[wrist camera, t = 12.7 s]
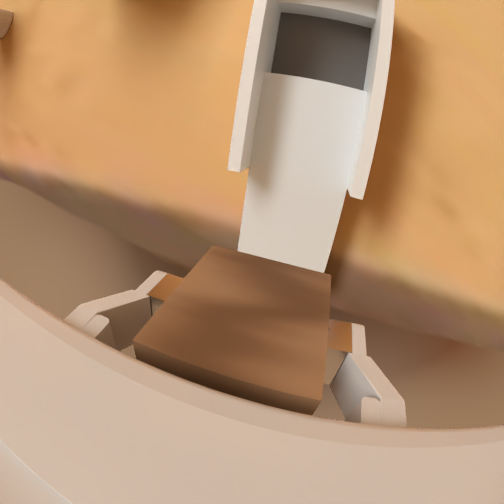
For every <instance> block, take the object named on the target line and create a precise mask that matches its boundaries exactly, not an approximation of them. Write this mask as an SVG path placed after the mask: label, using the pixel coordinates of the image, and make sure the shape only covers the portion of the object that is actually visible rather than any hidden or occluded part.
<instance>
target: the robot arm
mask: <svg viewBox="0 0 504 504" xmlns="http://www.w3.org/2000/svg"><path fill="white" fill-rule="evenodd" d="M183 279H184V278H180V277H177V276H174V275H171V274H168V273H165V272H162V271H155V272H154V273H153V274H152V275H151V276H150V277H149V278H148V279H147V280H146V281H145V282H143V283H142V284H141V285H140V286H139V287H138V288H137V289H136V290H135V291H134V290H129V291H126V292H122V293H119V294H115V295H112V296H108V297H104V298H101V299H97V300H94V301H91V302H87V303H83V304H81V305H80V306H78V307H77V308H76V309H75V310H74V311H73V312H72V313H71V314H70V315H69V316H67V317H66V318H65V319H64V320H62V319H60V318H58V317H57V316H55V315H53V314H52V313H50V312H49V311H47V310H45V309H44V308H42V307H41V306H39V305H38V304H36V303H34V302H33V301H32V300H30V299H29V298H27V297H26V296H25V295H23V294H22V293H20V292H19V291H17V290H16V289H15V288H13V287H12V286H11V285H9V284H8V283H7V282H5V281H4V280H3V279H1V278H0V504H504V424H503V425H495V426H484V427H470V428H407V423H406V410H405V401H404V400H403V398H402V397H401V396H400V394H399V393H398V392H397V391H396V389H395V388H394V387H393V385H392V384H391V383H390V381H389V380H388V379H387V378H386V376H385V375H384V374H383V372H382V371H381V370H380V369H379V367H378V366H377V365H376V364H375V362H374V361H373V360H372V358H371V357H368V356H367V351H366V338H365V327H364V326H363V325H359V324H355V323H347V322H343V321H339V320H335V319H330V318H329V330H328V343H327V355H326V366H325V376H324V384H327V385H330V387H331V389H332V392H333V394H334V396H335V398H336V400H337V402H338V404H339V406H340V408H341V410H342V412H343V415H344V417H345V420H344V421H340V420H334V419H328V418H322V417H317V416H312V415H307V414H302V413H297V412H293V411H288V410H284V409H280V408H276V407H272V406H268V405H264V404H260V403H257V402H253V401H249V400H246V399H242V398H239V397H236V396H232V395H229V394H226V393H223V392H220V391H217V390H214V389H211V388H208V387H205V386H202V385H199V384H197V383H194V382H191V381H188V380H186V379H183V378H180V377H178V376H175V375H173V374H170V373H168V372H165V371H163V370H161V369H158V368H156V367H153V366H151V365H149V364H147V363H144V362H142V361H140V360H138V359H135V358H133V357H131V356H129V355H127V354H125V353H123V352H121V351H120V350H122V349H125V348H127V347H129V346H131V345H132V344H133V339H134V338H135V336H136V335H137V334H138V333H139V331H140V330H141V329H142V328H143V327H144V325H145V324H146V323H147V322H148V321H149V319H150V318H151V317H152V316H153V315H154V313H155V312H156V311H157V310H158V309H159V307H160V306H161V305H162V304H163V303H164V301H165V300H166V299H167V298H168V297H169V296H170V294H171V293H172V292H173V291H174V290H175V289H176V287H177V286H178V285H179V284H180V283H181V282H182V280H183Z"/></svg>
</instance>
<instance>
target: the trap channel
mask: <svg viewBox="0 0 504 504" xmlns="http://www.w3.org/2000/svg"><path fill="white" fill-rule="evenodd" d="M394 6H395V0H254V5H253V10H252V15H251V21H250V26H249V32H248V37H247V43H246V49H245V55H244V61H243V67H242V73H241V79H240V85H239V92H238V98H237V105H236V112H235V119H234V126H233V133H232V140H231V147H230V155H229V163H228V170H231V171H236V172H241V171H242V170H244V169H246V168H248V167H249V174H248V181H247V188H246V195H245V201H244V208H243V216H242V223H241V230H240V237H239V244H238V251H239V252H243V253H247V254H251V255H255V256H259V257H263V258H267V259H271V260H275V261H279V262H282V263H286V264H290V265H294V266H298V267H302V268H306V269H310V270H314V271H318V272H322V273H324V271H325V268H326V265H327V261H328V258H329V255H330V251H331V248H332V244H333V241H334V237H335V233H336V230H337V226H338V222H339V219H340V215H341V211H342V207H343V203H344V199H345V195H346V191H347V189H348V192H349V194H350V197H354V198H357V199H361V200H363V196H364V193H365V189H366V185H367V181H368V177H369V173H370V168H371V164H372V160H373V155H374V151H375V146H376V141H377V136H378V131H379V126H380V121H381V116H382V110H383V104H384V98H385V92H386V85H387V79H388V71H389V63H390V55H391V46H392V35H393V23H394Z"/></svg>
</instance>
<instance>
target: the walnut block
mask: <svg viewBox="0 0 504 504" xmlns="http://www.w3.org/2000/svg"><path fill="white" fill-rule="evenodd" d="M330 293H331V275H330V274H326V273H322V272H318V271H314V270H310V269H306V268H302V267H298V266H294V265H290V264H286V263H282V262H279V261H275V260H271V259H267V258H263V257H259V256H255V255H251V254H247V253H243V252H239V251H236V250H232V249H228V248H224V247H220V246H216V245H213V246H212V247H211V248H210V249H209V251H208V252H207V253H206V254H205V255H204V256H203V257H202V258H201V260H200V261H199V262H198V263H197V264H196V265H195V267H194V268H193V269H192V270H191V271H190V272H189V273H188V275H187V276H186V277H185V278H184V279H183V280H182V282H181V283H180V284H179V285H178V286H177V287H176V289H175V290H174V291H173V292H172V293H171V294H170V296H169V297H168V298H167V299H166V300H165V301H164V303H163V304H162V305H161V306H160V307H159V309H158V310H157V311H156V312H155V313H154V315H153V316H152V317H151V318H150V319H149V321H148V322H147V323H146V324H145V325H144V327H143V328H142V329H141V330H140V331H139V333H138V334H137V335H136V336H135V338H134V339H133V345H134V350H135V354H136V359H138V360H140V361H142V362H144V363H147V364H149V365H151V366H153V367H156V368H158V369H161V370H163V371H165V372H168V373H170V374H173V375H175V376H178V377H180V378H183V379H186V380H188V381H191V382H194V383H197V384H199V385H202V386H205V387H208V388H211V389H214V390H217V391H220V392H223V393H226V394H229V395H232V396H236V397H239V398H242V399H246V400H249V401H253V402H257V403H260V404H264V405H268V406H272V407H276V408H280V409H284V410H288V411H293V412H297V413H302V414H307V415H312V414H313V413H314V412H315V410H316V408H317V407H318V405H319V404H320V402H321V401H322V394H323V385H324V376H325V366H326V355H327V343H328V330H329V314H330Z"/></svg>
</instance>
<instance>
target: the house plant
mask: <svg viewBox="0 0 504 504" xmlns="http://www.w3.org/2000/svg"><path fill="white" fill-rule="evenodd" d="M12 18H13V13H12V12H10V11H6V10H2V9H0V39H1V38H3V37H4V36H5V35H6V33H7V31H8V29H9V27H10V25H11V22H12Z"/></svg>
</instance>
